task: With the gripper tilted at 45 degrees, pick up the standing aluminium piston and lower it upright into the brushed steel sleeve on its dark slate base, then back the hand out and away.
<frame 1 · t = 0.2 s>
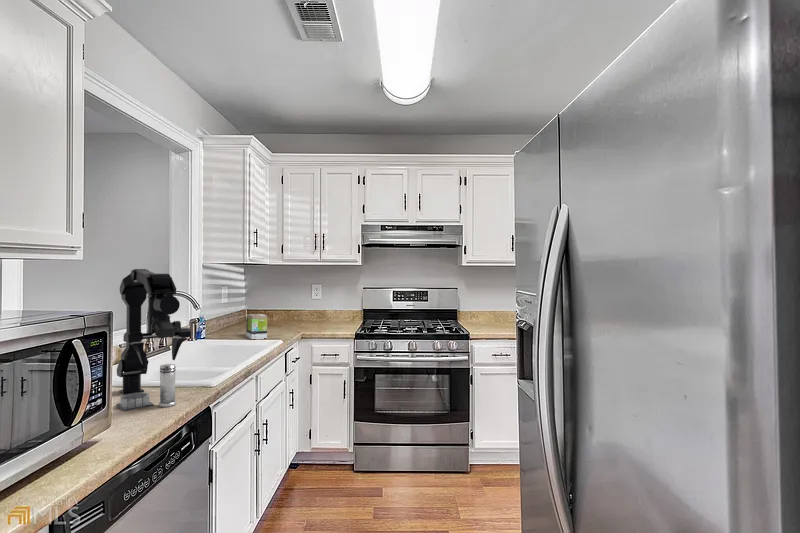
hand: (158, 362, 152), 15 cm above the counter, tool pointing down, fingers open, 9 cm apart
piston: (167, 405, 156), on the counter
tea box: (256, 338, 304), on the counter
sleeve: (135, 405, 156), on the counter
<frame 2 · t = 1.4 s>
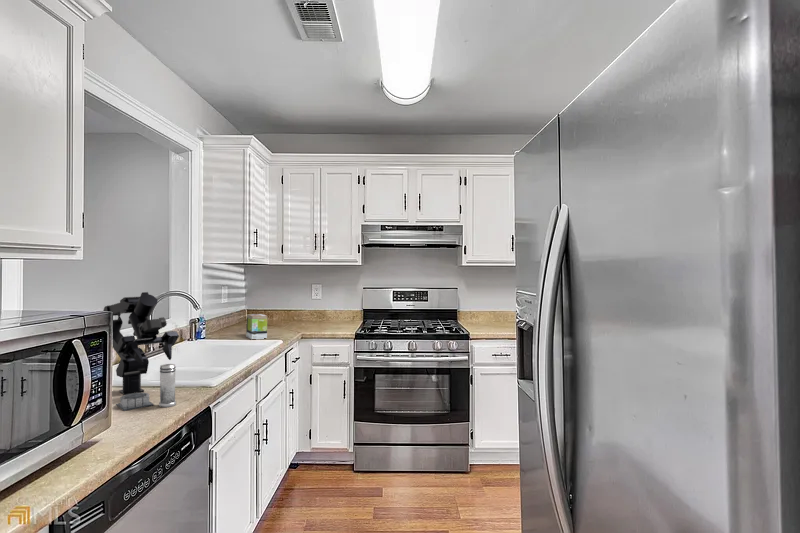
hand: (156, 361, 161), 13 cm above the counter, tool tilted 45°, fingers open, 9 cm apart
nothing on the counter moved.
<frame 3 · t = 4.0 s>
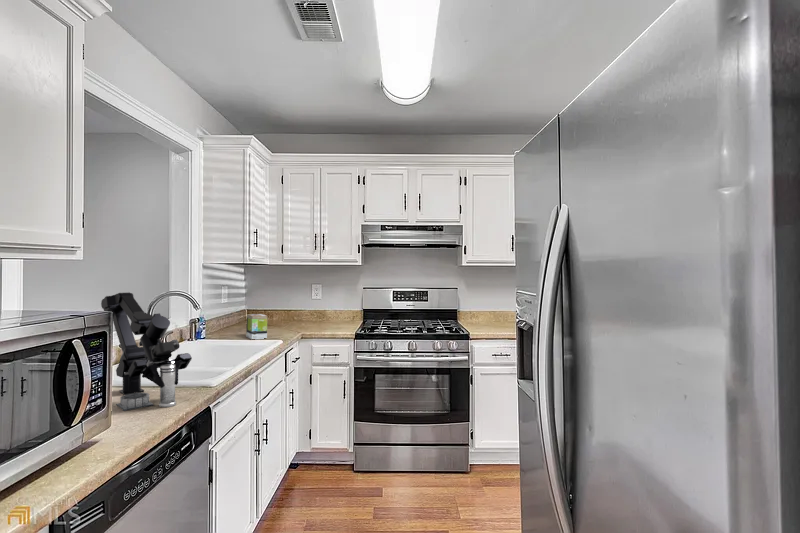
hand: (169, 385, 155), 7 cm above the counter, tool tilted 45°, fingers closed on piston, 4 cm apart
piston: (167, 405, 156), on the counter, touching gripper
everything else where it was.
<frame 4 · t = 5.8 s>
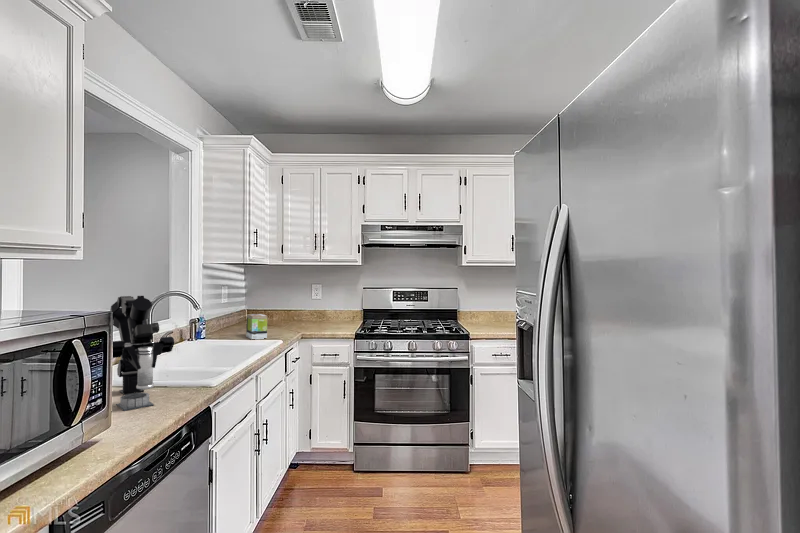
hand: (146, 368, 154), 12 cm above the counter, tool tilted 45°, fingers closed on piston, 4 cm apart
piston: (145, 387, 156), point 6 cm above the counter, touching gripper
everything else where it was.
when the fingers open (8 cm above the counter, at t = 7.9 s): piston stays where it is, resting on sleeve.
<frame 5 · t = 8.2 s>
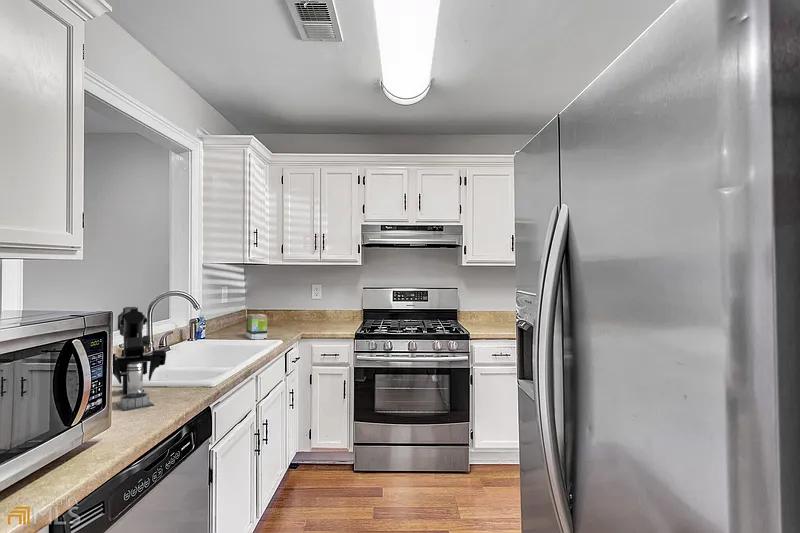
hand: (135, 381, 154), 8 cm above the counter, tool tilted 45°, fingers open, 8 cm apart
piston: (135, 403, 156), point 1 cm above the counter, touching sleeve
everything else where it was.
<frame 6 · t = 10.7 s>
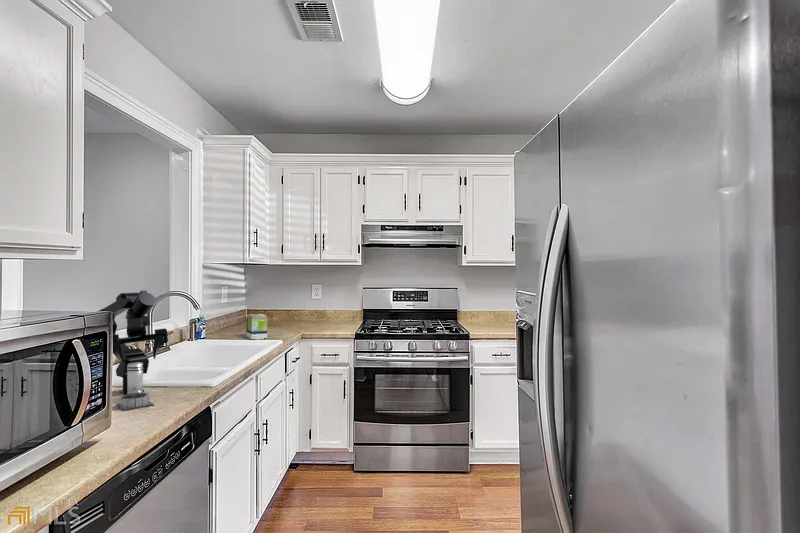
hand: (138, 360, 160), 14 cm above the counter, tool tilted 40°, fingers open, 9 cm apart
nothing on the counter moved.
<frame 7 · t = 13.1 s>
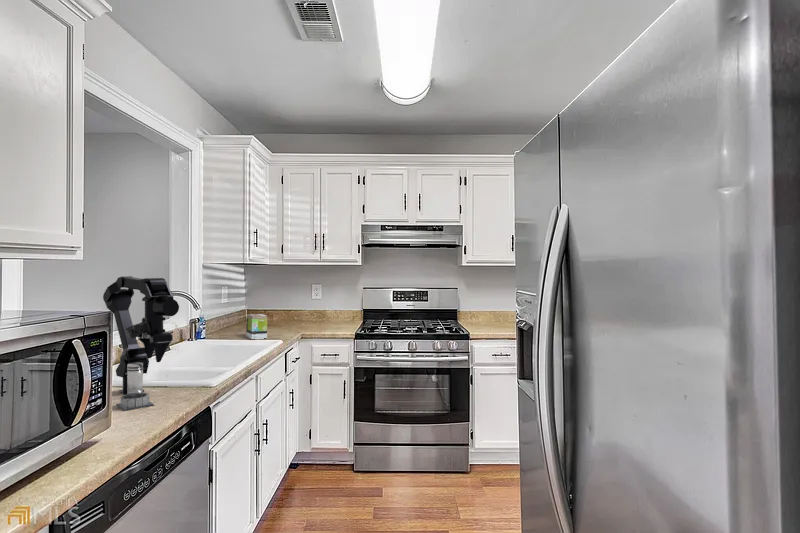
hand: (153, 360, 164), 13 cm above the counter, tool pointing down, fingers open, 9 cm apart
nothing on the counter moved.
at the end: piston 0.1 cm off-centre on the sleeve, point 0.5 cm above the sleeve's base; piston tilted 0°; the gripper is holding nothing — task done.
